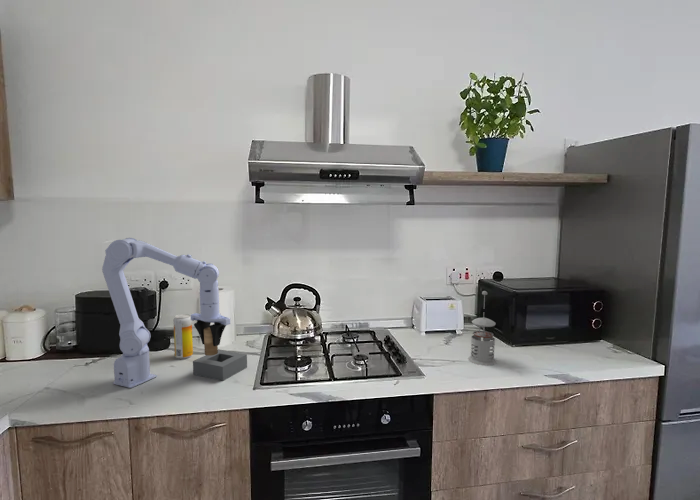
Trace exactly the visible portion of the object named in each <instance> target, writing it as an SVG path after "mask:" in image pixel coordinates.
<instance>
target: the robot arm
mask: <svg viewBox="0 0 700 500" xmlns="http://www.w3.org/2000/svg"><path fill="white" fill-rule="evenodd" d="M104 252H105V257H104V260H103V265H102V268H101V270H102V275H103V277H104V280H105V283H106V286H107V290H108V292H109V296H110V299H111V301H112V304H113V307H114V310H115V313H116V316H117V320H118V323H119V324H120V326H119V333H118V335H119V339H120V340H119V349H120V351H121V353H122V354H121V356H119V357H117V358H116V359H115V360H114V363H113V372H114V381H113V382H112V385H117V386H121V387H125V388H129V389H132V388H135V387H136V386H137V387H138V386H139V385H141V384H143V383H146V382H148V381H150V380H152V379H155V378H157V376H158V375H156V374H155V373H154V374H153V373H151V370H150V369H151V363H150V362H151V361H150V348H149V346H148V343H149V342H150V341H151V332H150V331H149V330H148V328H146V326H145V324H144V322H143V321H142V320H141V319H140V318H139V315H138V312H137V309H136V306H135V303H134V300H133V297H132V293H131V290H130V287H129V283H128V281H127V279H126V275H125V272H124V270H125V269H126V268H127V266H128V264H129V263H130V262H131V261H132V260H133V259H139V258H150V259H151V260H152V259H153V260H155V261H158V262H161V263H163V264H167V265H169V266H172V267H173V269H174V271H175V272H176V273H179V274H181V275H185V276H187V277H190V278H192V279H195V280H196V279H197V280H198V282H199V312H200V313H197V312H195V313H191V314H190V315H191V321H192V322H193V321H196V322H194V323H193V326H194V328H195V329H196V330H197V333H198V334H199V338H200V341H201V344H202V345H204V329H205V328H209V327H210V329H211V332H212V337H213V346H220V345H221V341H222V340H221V339H222V335H223V333H224V331H225V329H226V326H229V325H231V317H228V316H224V315H222V314H221V313H220V294H219V293H220V291H219V289H220V288H219V281H218V278H219V275H220V270H219V269H218V267H217V266H216V265H215V264H214V263H207V261H205V260H203V261H201V260H199V259H196V258H193V256H192V255H191V254H189V253H187V254H186V255H185V254H181V255H175V254H173V253H171V252H170V251H167V250H164V249H162V248H160V247H157V246H155V245H153V244H151V243H148V242H147V241H143V240H140V239H139V240H138V239H136V238H134V237H126V238H123V239H116V240H114V241H112V242H111V243H110V244H109V245H108V246H107V248H106V249H105V251H104Z"/></svg>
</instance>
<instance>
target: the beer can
mask: <svg viewBox="0 0 700 500" xmlns="http://www.w3.org/2000/svg"><path fill="white" fill-rule="evenodd" d="M173 341H174V343H173V344H174V357H175V358H176V359H177V360H187V359H190V358H191V357H192V356H193V354H194V347H193V346H194V344H193V341H194V340H193V321H191V314H188V313H181V314H177V315H175V316H174V318H173Z"/></svg>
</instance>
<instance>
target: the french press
mask: <svg viewBox="0 0 700 500" xmlns="http://www.w3.org/2000/svg"><path fill="white" fill-rule="evenodd" d="M481 295H483V308H485V307H486V306H485V302H486V296H487V295H488V292H487V291H486V290H483V291H481ZM482 314H483V317H477V318H474V319H473V320H471V323H472V324H473V325H474V326H477V327H478V330H475V331H474V330H473V332H472V335H471V339H470V341H471V343H470V344H471V345H470V346H471V347H470V356H469V357H468V358H467V360H468V361H469V362H470V363H472V364H475V365H478V366H479V365H480V366H493V365H496V364H497V360H496V359H495V345H496V344H495V343H496V341H495V339H496V338H495V337H494V336H495V334H494V333H493V332H490V331H486V330H485V328H491V327H495V326H496V322H495V321H494V320H492V319H490V318H487V317H485V313H482ZM481 328H482V330H481Z"/></svg>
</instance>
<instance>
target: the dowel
mask: <svg viewBox="0 0 700 500" xmlns="http://www.w3.org/2000/svg"><path fill="white" fill-rule="evenodd" d="M203 345H204V348H203V349H204V356H205V355H208V356H211V355H215V354H217V353H218V346H219V345H218V346H213V337H212V332H211V329H210V327H209V328H205V329H204V344H203Z"/></svg>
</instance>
